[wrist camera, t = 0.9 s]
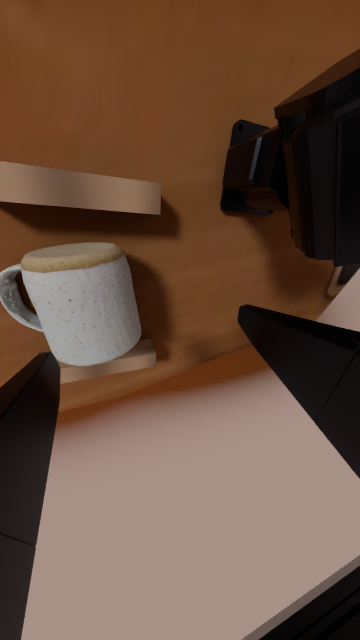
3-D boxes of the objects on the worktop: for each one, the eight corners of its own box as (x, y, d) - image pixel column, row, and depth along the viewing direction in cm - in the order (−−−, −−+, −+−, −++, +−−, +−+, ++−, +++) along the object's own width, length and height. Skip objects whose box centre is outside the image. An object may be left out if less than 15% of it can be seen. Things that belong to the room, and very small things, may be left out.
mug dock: (152, 186, 16) (161, 183, 14) (150, 350, 25) (155, 366, 23) (-31, 161, 12) (-63, 152, 10) (44, 366, 21) (37, 387, 19)
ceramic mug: (121, 234, 17) (130, 253, 11) (136, 312, 22) (148, 356, 16) (-19, 247, 15) (-106, 281, 9) (30, 332, 19) (-5, 395, 13)
